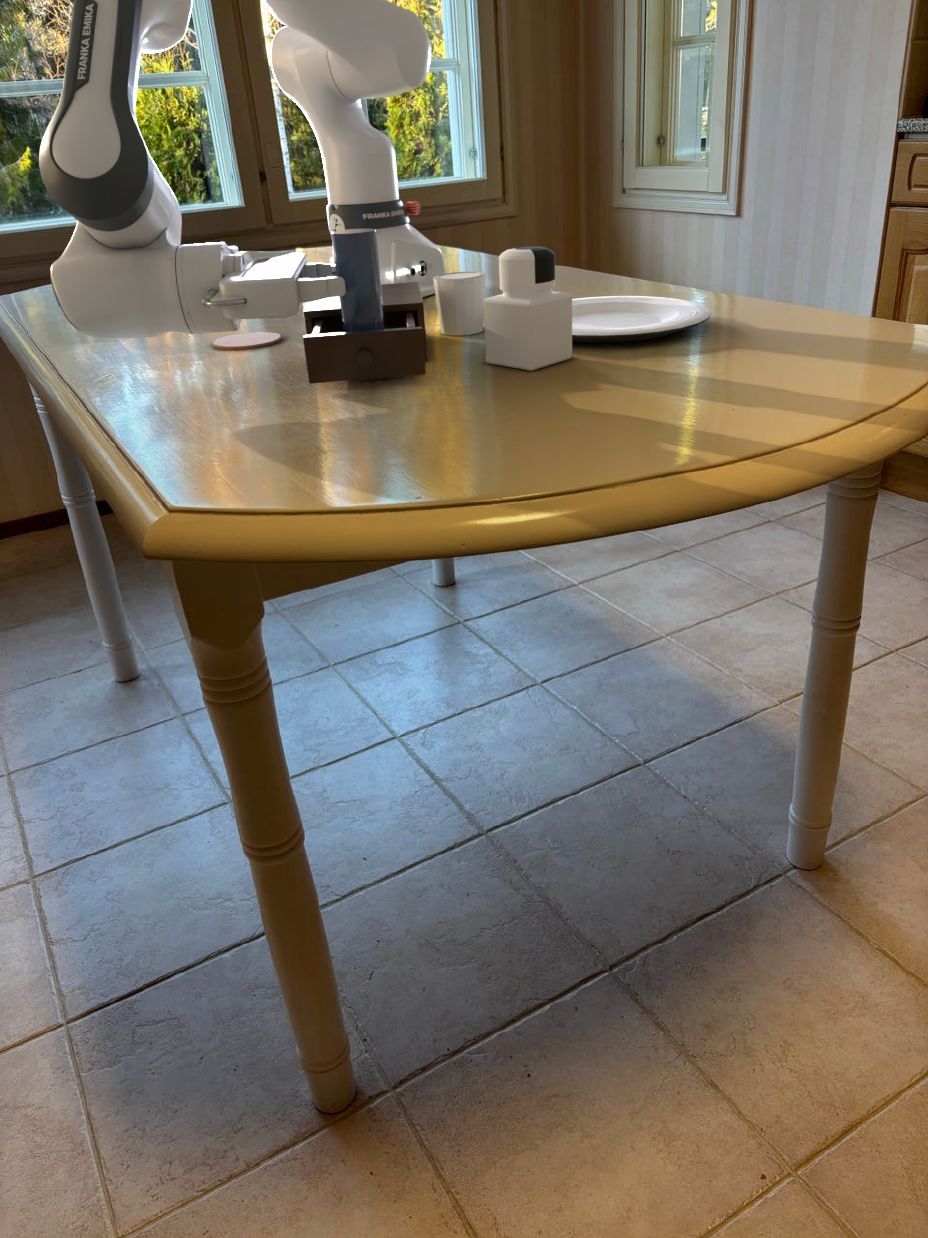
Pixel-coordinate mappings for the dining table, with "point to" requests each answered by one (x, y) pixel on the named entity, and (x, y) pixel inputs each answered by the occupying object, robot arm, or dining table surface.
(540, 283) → the medicine bottle
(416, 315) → the cabinet
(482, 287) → the white cup
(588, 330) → the plate
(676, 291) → the dining table surface
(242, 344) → the coaster
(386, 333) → the drawer
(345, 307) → the cylinder
